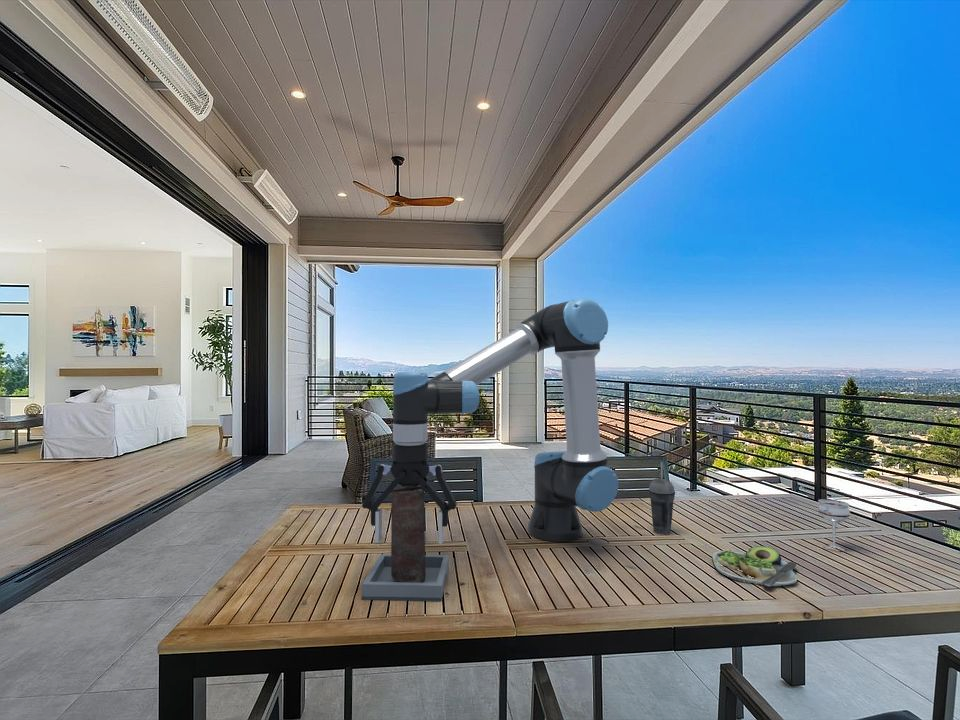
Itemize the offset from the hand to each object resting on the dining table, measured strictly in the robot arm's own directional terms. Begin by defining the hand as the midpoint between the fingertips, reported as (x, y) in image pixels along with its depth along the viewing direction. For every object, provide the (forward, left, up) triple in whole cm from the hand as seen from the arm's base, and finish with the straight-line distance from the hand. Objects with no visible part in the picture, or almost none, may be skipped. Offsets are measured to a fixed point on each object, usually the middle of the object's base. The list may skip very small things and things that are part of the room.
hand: (409, 541), depth 103 cm
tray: (0, 0, -9) cm, 9 cm away
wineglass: (-108, -25, -9) cm, 111 cm away
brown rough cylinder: (0, 0, -9) cm, 9 cm away
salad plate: (-79, -10, -10) cm, 80 cm away
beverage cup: (-67, -36, -9) cm, 77 cm away
